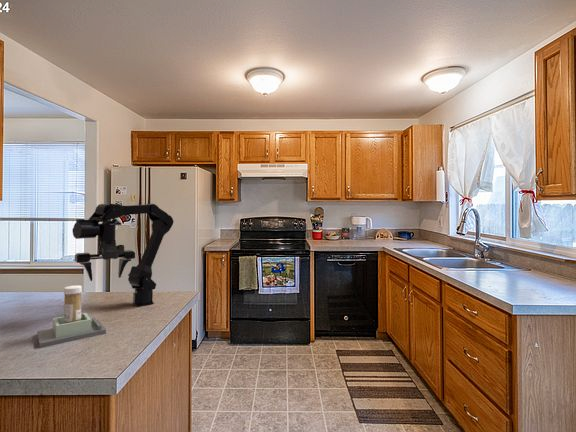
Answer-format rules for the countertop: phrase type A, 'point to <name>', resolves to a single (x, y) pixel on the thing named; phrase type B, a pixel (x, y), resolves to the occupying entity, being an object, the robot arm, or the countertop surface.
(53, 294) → the countertop surface
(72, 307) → the sprinkles bottle
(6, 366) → the countertop surface
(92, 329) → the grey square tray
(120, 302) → the countertop surface
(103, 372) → the countertop surface
